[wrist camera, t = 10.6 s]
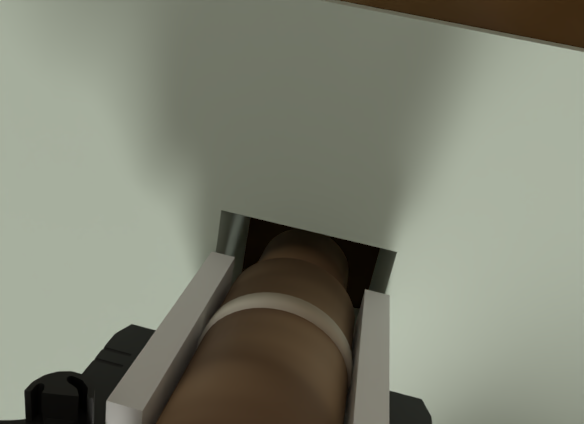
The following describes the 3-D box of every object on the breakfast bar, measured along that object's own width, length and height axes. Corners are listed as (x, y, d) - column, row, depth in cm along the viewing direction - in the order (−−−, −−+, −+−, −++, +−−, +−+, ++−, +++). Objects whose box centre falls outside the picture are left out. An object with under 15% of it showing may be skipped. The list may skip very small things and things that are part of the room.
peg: (241, 302, 20) (13, 765, 8) (256, 203, 18) (-2, 602, 6) (348, 330, 19) (280, 860, 7) (374, 231, 18) (343, 713, 6)
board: (63, 346, 26) (-7, 421, 21) (61, -54, 18) (-48, -72, 14) (508, 466, 24) (537, 577, 19) (702, 71, 16) (824, 99, 12)
